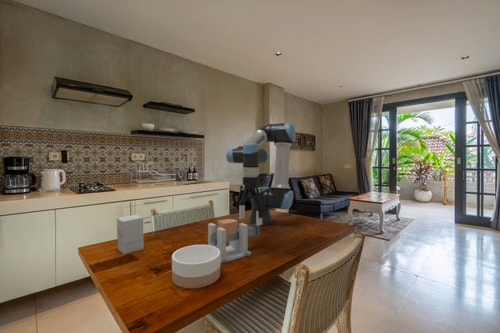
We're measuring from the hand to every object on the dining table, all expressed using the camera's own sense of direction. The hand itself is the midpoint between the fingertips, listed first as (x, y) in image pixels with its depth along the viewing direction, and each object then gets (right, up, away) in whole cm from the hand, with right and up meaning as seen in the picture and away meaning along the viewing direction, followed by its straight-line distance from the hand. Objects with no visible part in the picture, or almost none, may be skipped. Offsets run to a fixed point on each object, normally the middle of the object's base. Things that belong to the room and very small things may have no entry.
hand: (250, 221), depth 111 cm
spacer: (-10, -3, -7) cm, 13 cm away
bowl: (-20, -14, -25) cm, 35 cm away
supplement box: (-56, -13, 0) cm, 57 cm away
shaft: (-6, -7, -4) cm, 10 cm away
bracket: (-10, -13, -6) cm, 18 cm away
